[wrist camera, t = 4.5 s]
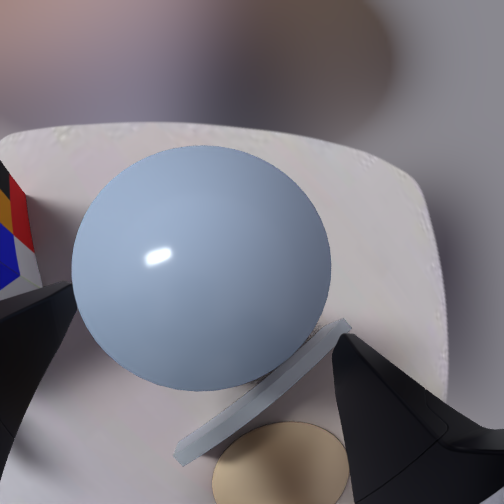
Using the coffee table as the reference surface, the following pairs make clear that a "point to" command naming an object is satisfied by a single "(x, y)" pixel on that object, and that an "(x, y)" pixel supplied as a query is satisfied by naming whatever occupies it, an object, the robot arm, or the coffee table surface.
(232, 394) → the coffee table surface
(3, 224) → the puzzle toy
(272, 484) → the cork coaster
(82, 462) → the coffee table surface
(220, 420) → the acrylic wall
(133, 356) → the pale blue domed part
